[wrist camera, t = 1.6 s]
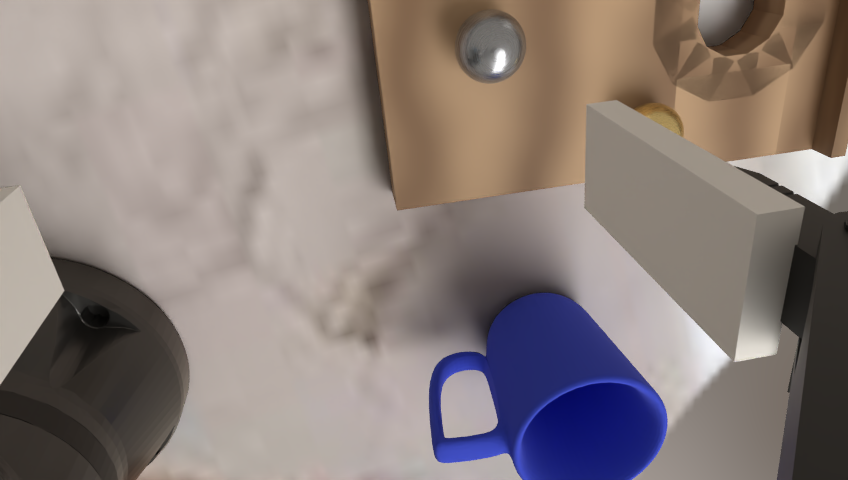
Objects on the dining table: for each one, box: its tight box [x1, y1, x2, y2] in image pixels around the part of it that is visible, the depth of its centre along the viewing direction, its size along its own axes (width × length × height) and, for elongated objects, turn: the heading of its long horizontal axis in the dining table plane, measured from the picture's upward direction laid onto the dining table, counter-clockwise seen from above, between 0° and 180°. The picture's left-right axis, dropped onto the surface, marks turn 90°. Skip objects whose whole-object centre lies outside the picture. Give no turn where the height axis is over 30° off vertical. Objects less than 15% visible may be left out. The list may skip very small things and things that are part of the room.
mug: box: [429, 293, 667, 480], centre depth 36 cm, size 8×12×10 cm
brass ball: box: [634, 103, 684, 137], centre depth 32 cm, size 3×3×3 cm
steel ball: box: [455, 9, 526, 84], centre depth 28 cm, size 3×3×3 cm
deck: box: [368, 0, 848, 210], centre depth 31 cm, size 24×16×4 cm, turn 95°
